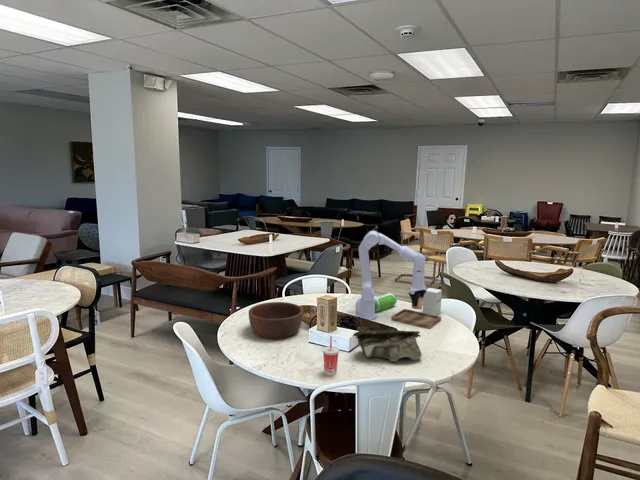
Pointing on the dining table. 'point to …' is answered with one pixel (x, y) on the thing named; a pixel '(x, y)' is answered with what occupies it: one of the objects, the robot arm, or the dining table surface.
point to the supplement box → (432, 301)
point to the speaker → (384, 301)
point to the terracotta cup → (418, 304)
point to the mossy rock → (389, 344)
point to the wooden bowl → (275, 319)
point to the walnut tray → (416, 318)
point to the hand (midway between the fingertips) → (416, 304)
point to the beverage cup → (330, 359)
